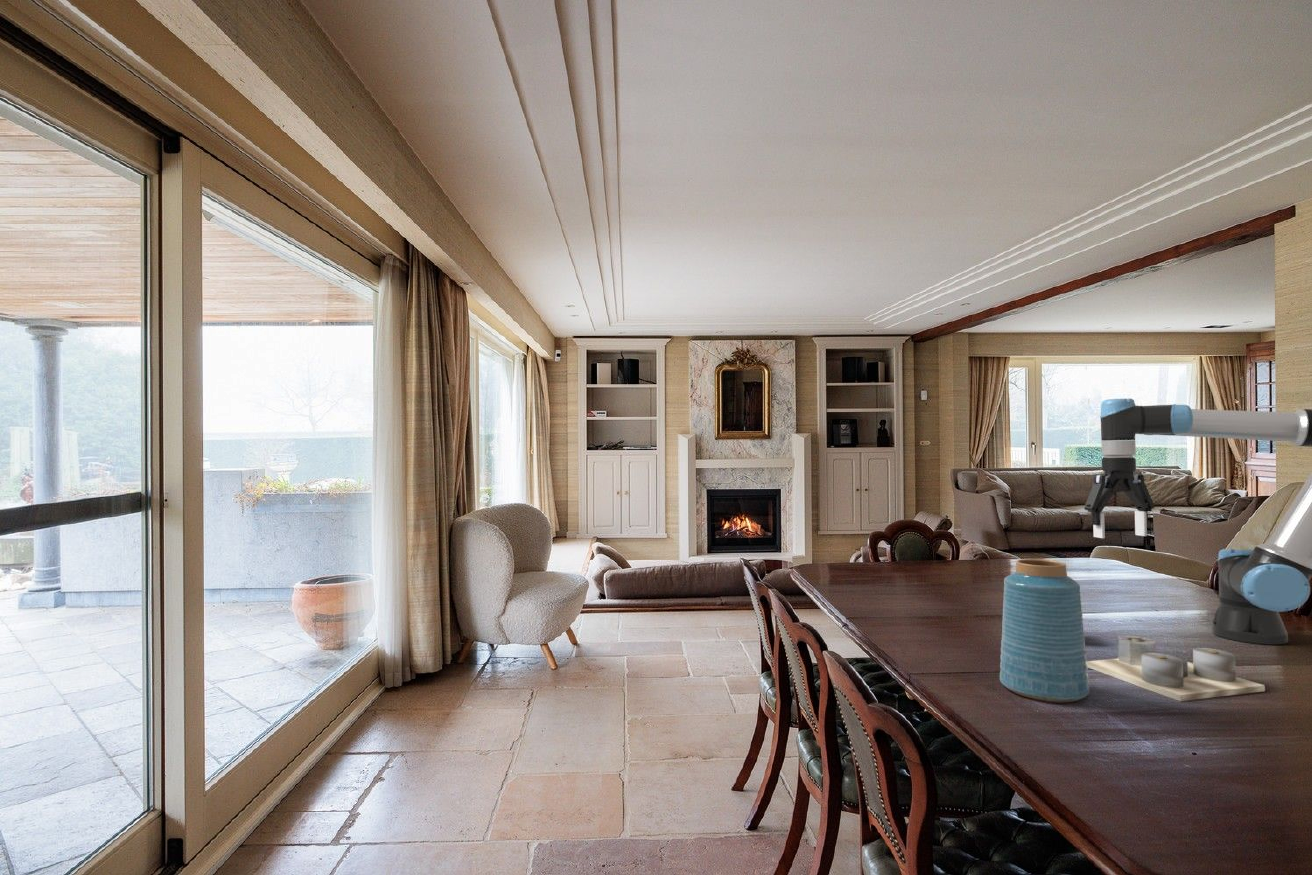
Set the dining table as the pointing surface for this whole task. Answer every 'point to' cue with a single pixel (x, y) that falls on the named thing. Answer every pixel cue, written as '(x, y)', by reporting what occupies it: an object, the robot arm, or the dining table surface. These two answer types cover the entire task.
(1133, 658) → the octagonal tube
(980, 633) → the dining table surface
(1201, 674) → the carrier
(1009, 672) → the vase
